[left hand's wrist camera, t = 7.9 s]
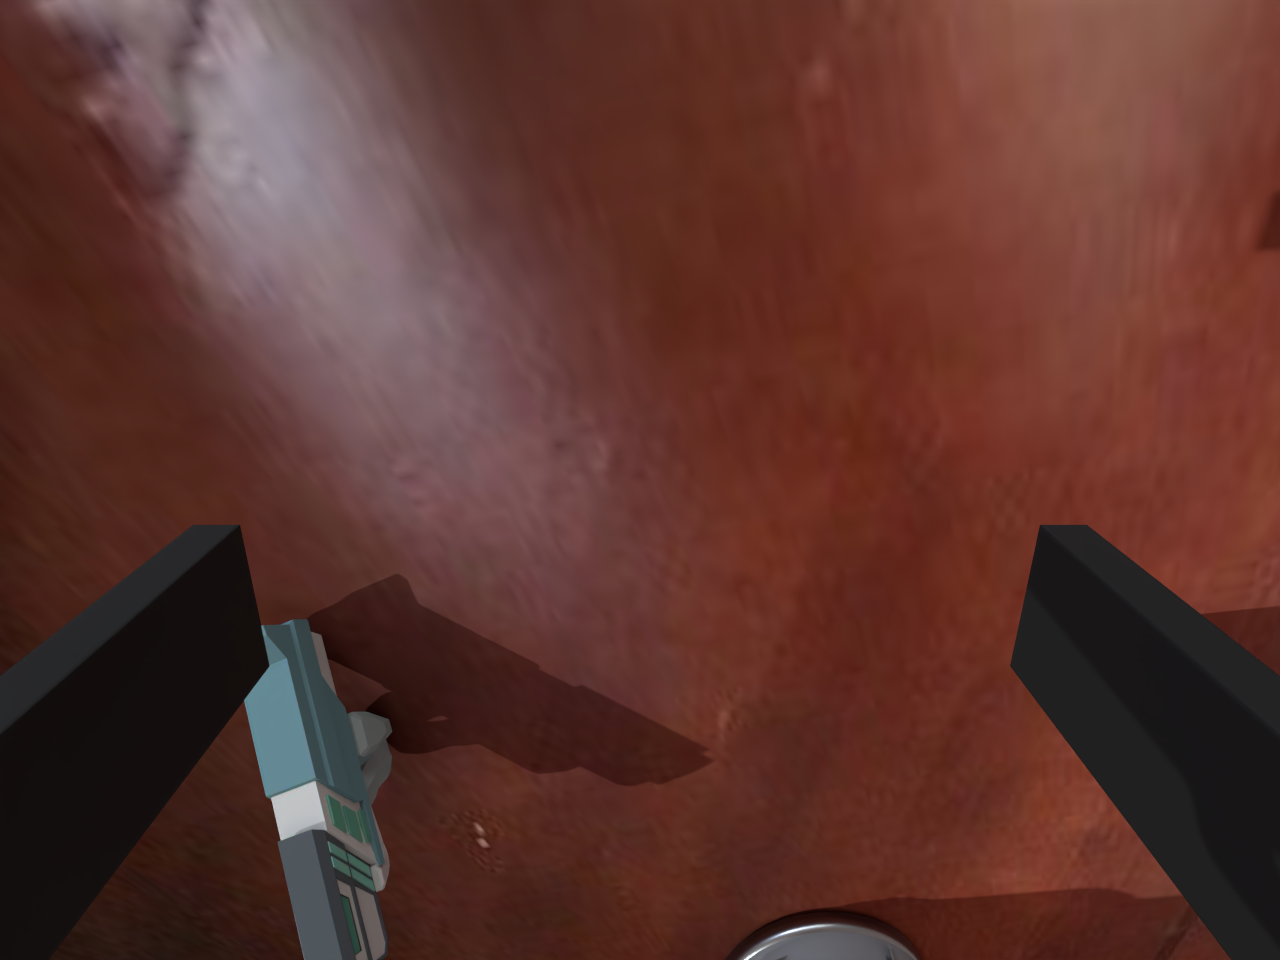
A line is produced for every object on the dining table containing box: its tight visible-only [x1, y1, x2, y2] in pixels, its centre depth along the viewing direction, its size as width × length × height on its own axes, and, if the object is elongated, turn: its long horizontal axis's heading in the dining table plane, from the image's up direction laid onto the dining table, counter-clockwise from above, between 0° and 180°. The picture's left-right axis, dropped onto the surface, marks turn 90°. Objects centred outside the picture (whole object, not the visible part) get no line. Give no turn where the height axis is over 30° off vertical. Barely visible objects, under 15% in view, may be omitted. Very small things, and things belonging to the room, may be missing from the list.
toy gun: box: [244, 619, 392, 960], centre depth 43 cm, size 4×19×10 cm
